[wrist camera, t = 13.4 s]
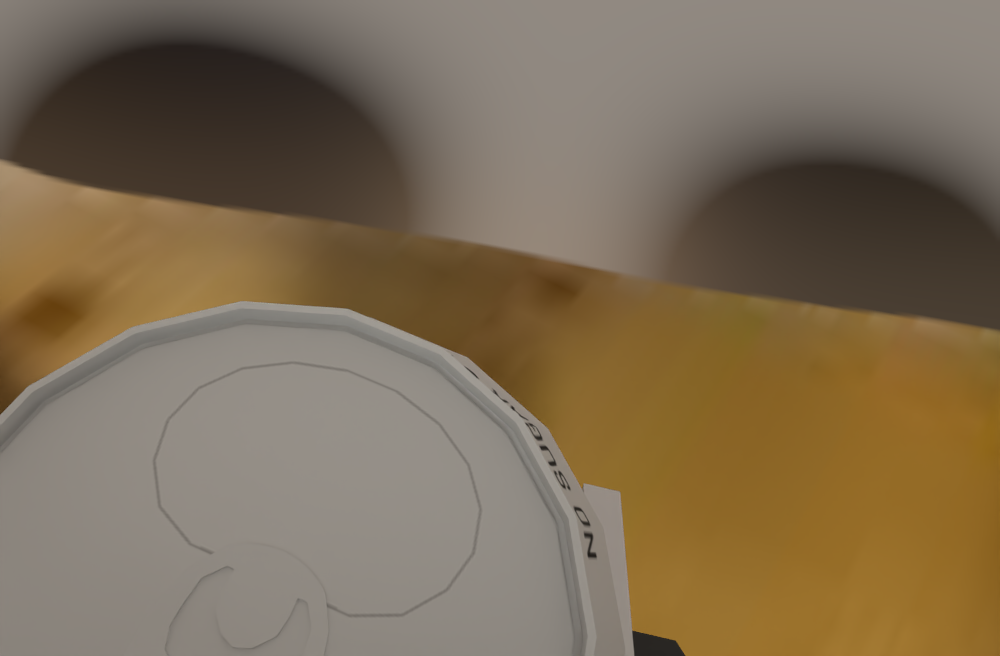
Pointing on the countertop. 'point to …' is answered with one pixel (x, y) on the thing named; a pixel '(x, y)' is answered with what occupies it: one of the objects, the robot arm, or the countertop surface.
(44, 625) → the supplement can
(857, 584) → the countertop surface
